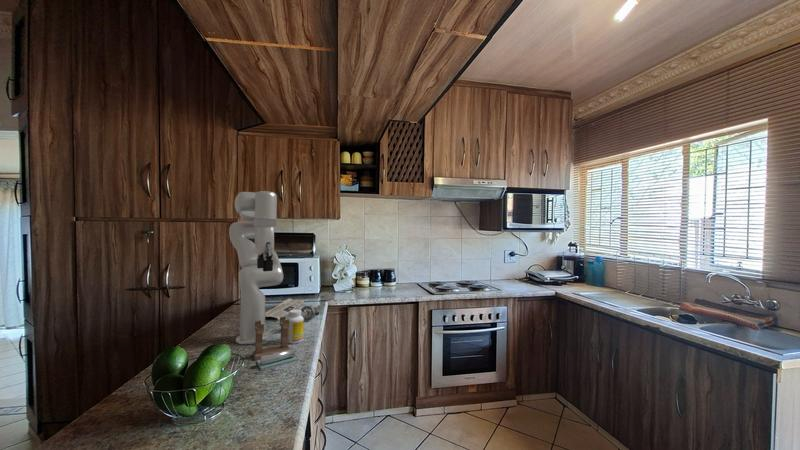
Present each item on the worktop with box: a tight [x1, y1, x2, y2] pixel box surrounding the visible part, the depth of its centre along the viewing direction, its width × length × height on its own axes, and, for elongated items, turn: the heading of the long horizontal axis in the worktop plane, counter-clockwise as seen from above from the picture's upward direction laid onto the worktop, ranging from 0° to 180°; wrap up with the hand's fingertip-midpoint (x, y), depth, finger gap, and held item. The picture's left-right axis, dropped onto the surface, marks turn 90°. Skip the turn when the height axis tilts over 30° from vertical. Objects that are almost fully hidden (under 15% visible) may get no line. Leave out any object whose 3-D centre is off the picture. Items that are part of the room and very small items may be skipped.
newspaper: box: [265, 297, 306, 322], centre depth 166 cm, size 35×12×4 cm, turn 176°
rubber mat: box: [256, 355, 298, 371], centre depth 102 cm, size 7×12×1 cm, turn 128°
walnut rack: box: [252, 316, 291, 362], centre depth 109 cm, size 6×12×12 cm, turn 128°
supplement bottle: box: [286, 308, 305, 345], centre depth 121 cm, size 7×7×13 cm
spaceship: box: [300, 304, 323, 322], centre depth 147 cm, size 8×35×8 cm
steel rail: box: [260, 347, 296, 365], centre depth 102 cm, size 11×3×3 cm
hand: (264, 269), depth 107 cm, fingers open, 9 cm apart
